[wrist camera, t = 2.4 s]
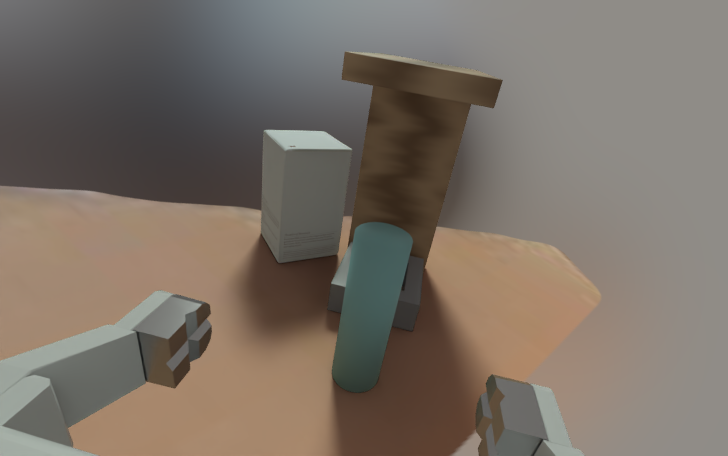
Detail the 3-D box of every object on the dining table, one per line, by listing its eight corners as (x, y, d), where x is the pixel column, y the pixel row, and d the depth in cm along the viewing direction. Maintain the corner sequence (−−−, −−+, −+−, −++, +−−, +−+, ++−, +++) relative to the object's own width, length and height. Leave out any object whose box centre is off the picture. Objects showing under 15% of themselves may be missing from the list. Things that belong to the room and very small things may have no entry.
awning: (311, 330, 30) (344, 51, 20) (351, 246, 44) (382, 53, 34) (415, 357, 29) (502, 80, 20) (423, 264, 43) (477, 70, 33)
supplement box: (339, 255, 41) (355, 149, 36) (276, 265, 38) (282, 148, 32) (316, 226, 47) (326, 130, 41) (259, 231, 43) (261, 127, 38)
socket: (327, 309, 33) (331, 283, 32) (347, 264, 40) (351, 241, 39) (412, 331, 32) (420, 305, 31) (417, 281, 39) (423, 258, 38)
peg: (326, 384, 26) (348, 242, 20) (338, 348, 29) (361, 217, 24) (374, 398, 25) (410, 257, 20) (381, 360, 29) (414, 229, 23)
